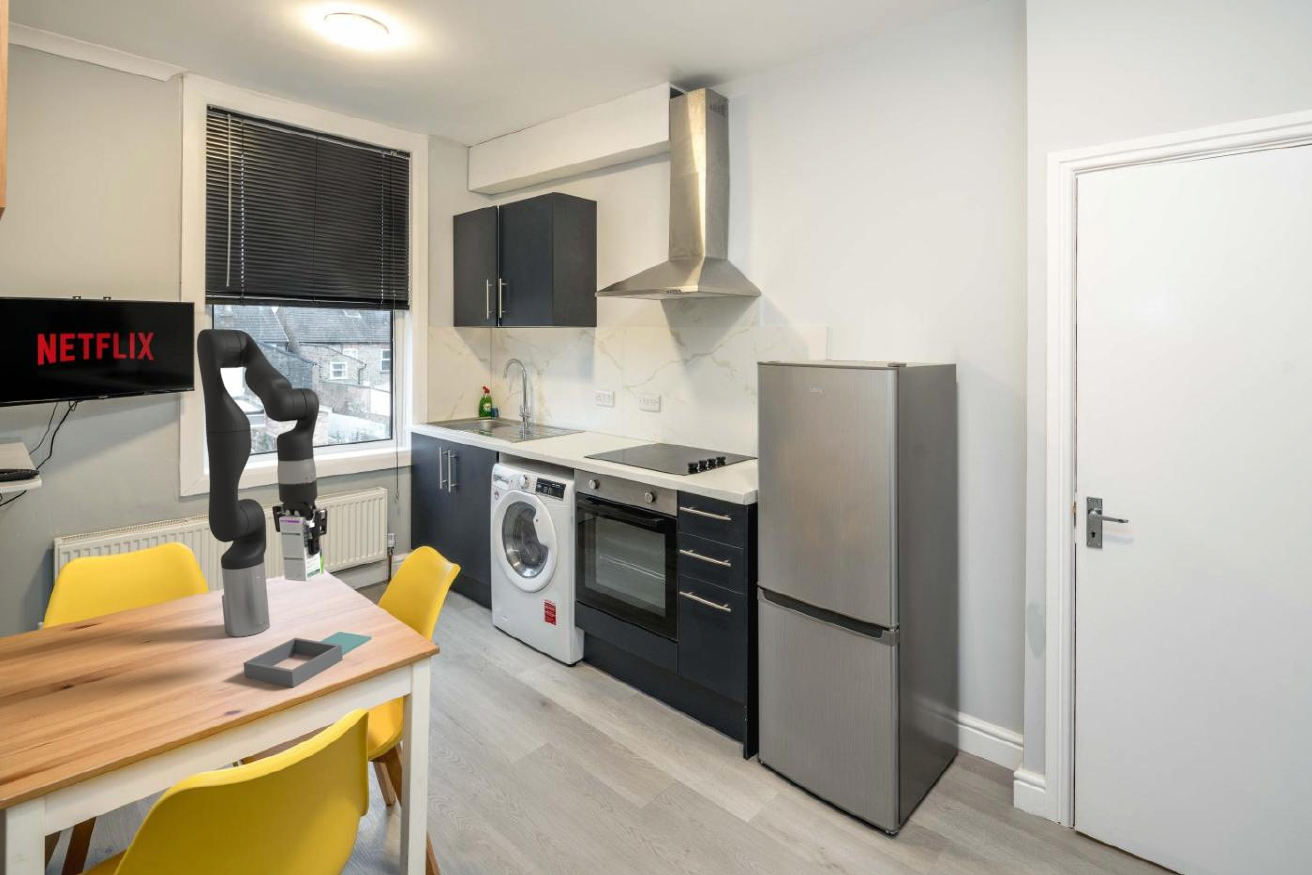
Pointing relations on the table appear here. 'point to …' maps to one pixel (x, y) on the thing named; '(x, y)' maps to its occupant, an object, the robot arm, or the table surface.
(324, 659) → the bin
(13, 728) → the table surface
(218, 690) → the table surface
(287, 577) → the syrup box
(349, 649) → the mat
